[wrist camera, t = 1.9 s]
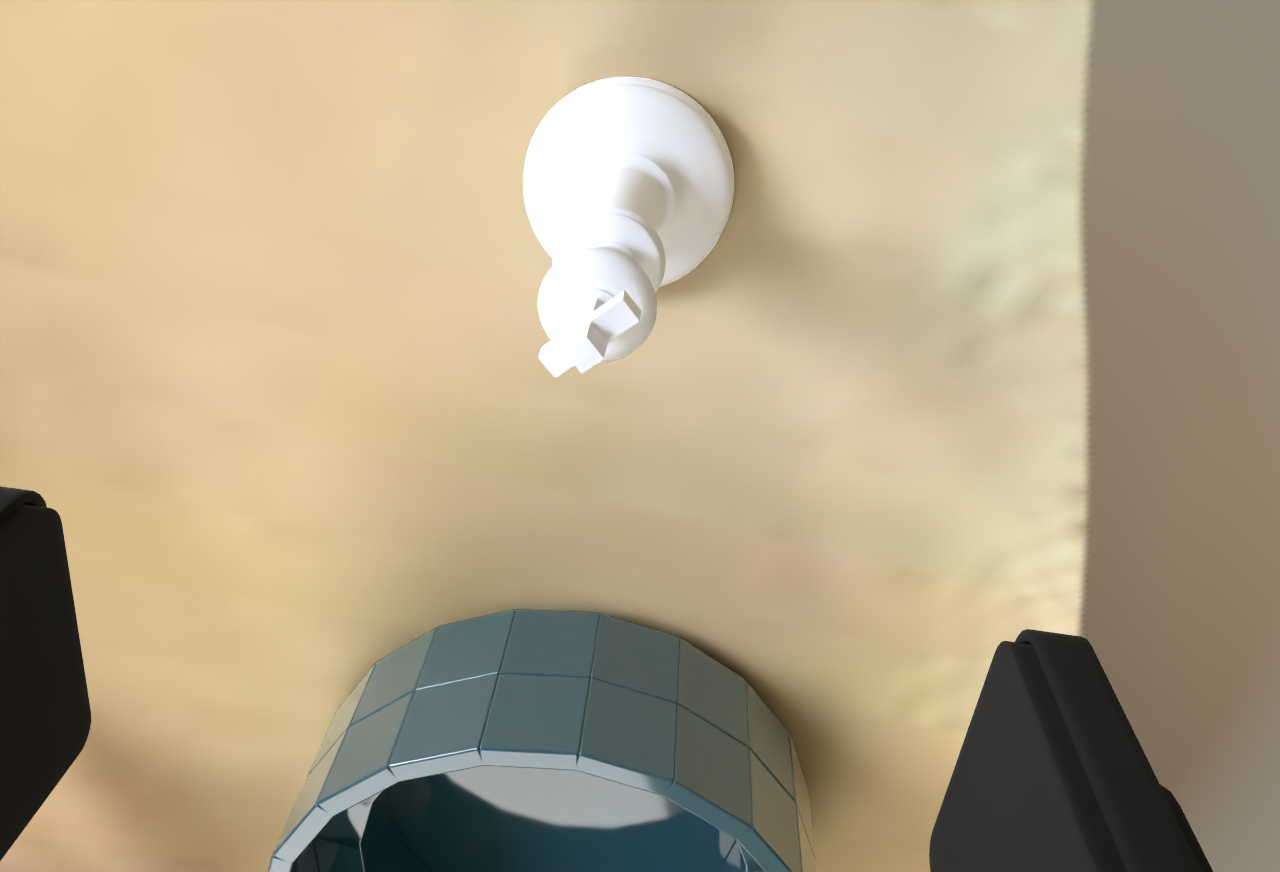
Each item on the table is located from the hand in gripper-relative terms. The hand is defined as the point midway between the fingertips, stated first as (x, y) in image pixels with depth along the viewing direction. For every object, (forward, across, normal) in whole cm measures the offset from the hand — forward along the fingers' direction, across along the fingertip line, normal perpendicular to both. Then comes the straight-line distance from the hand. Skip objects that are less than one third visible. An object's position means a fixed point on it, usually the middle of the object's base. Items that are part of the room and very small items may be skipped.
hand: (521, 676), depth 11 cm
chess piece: (+17, 0, -1) cm, 17 cm away
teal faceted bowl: (+17, 0, +19) cm, 25 cm away
